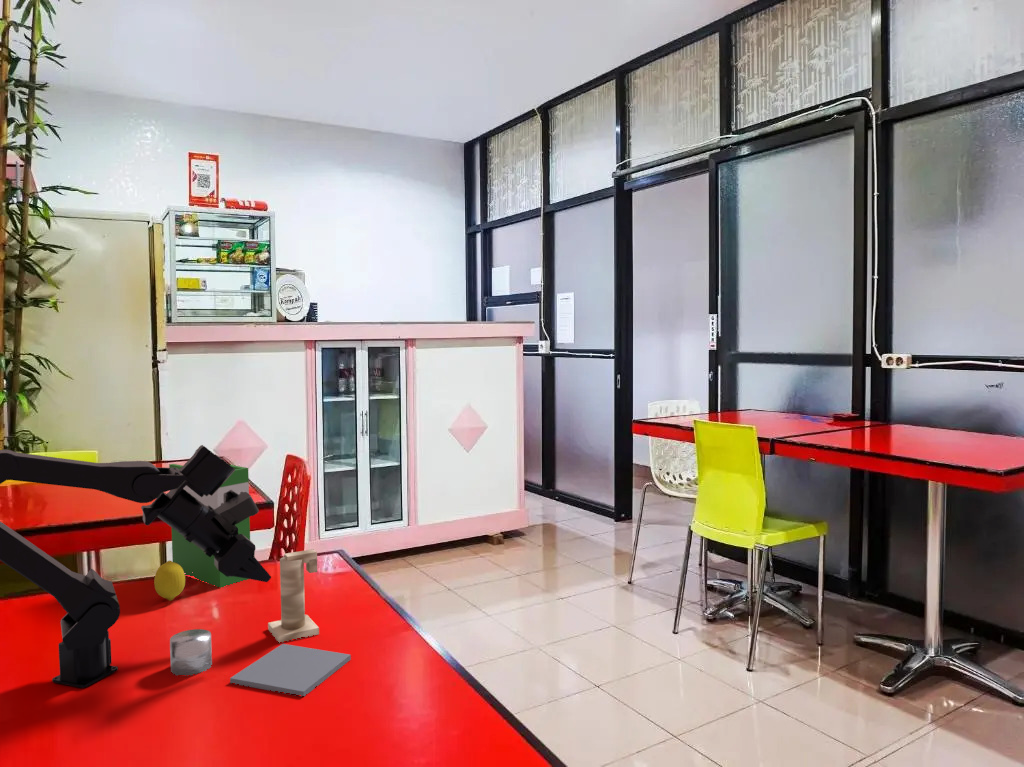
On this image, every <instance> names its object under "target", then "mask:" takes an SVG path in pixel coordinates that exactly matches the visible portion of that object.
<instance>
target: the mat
mask: <svg viewBox="0 0 1024 767" xmlns="http://www.w3.org/2000/svg"><path fill="white" fill-rule="evenodd" d="M351 656H352V655H351V654H349V653H343V652H336V651H330V650H323V649H318V648H311V647H305V646H299V645H293V644H289V643H281V644H280V645H279V646H277V647H275V648H274V649H273V650H271V651H269V652H268V653H266V654H265V655H263V656H262V657H260V658H259V659H257V660H255V661H254V662H252V663H251V664H250V665H248V666H246V667H245V668H243V669H242V670H240V671H239V672H237V673H235V674H234V675H233V676H231V677H229V681H230V682H229V683H230V684H232V683H235V684H234V685H237V684H239V685H238V686H243V685H244V687H248V686H249V687H250V688H253V689H254V688H255V689H260V690H264V691H270V690H271V692H275V691H278V692H277V693H280V692H284V693H283V694H286V693H290V694H289V695H291V694H296V695H301V696H300V697H302V696H304V697H305V696H307V695H308V694H309V693H310V692H312V691H313V690H314V689H315V687H316V686H317V687H319V685H321V684H322V683H323V682H325V681H326V680H327V679H329V677H330V676H332V675H333V674H335V673H336V672H337V671H338V670H339V669H341V668H342V667H344V665H346V664H347V663H348V662H349V661H351V660H352V657H351ZM317 687H316V688H317ZM306 694H307V695H306ZM296 695H295V696H296Z"/></svg>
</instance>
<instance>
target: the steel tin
mask: <svg viewBox="0 0 1024 767" xmlns="http://www.w3.org/2000/svg"><path fill="white" fill-rule="evenodd" d="M212 650H213V649H212V633H211V631H210V630H207V629H202V628H199V629H198V628H197V629H196V628H194V629H187V630H183V631H181V632H178V633H175V634H173V635H172V636H171V637H170V639H169V652H170V653H169V654H170V656H169V657H170V673H171V672H172V673H173V674H172V673H171V674H172V675H174V674H175V676H178V675H185V676H184V677H189V676H188V675H190V676H194V675H193V674H195V675H199V674H202V673H204V672H206V671H208V670H209V669H210V668H211V667H212V666H211V665H213V658H212V657H213V655H212V654H213V652H212ZM207 669H208V670H207ZM203 671H204V672H203ZM201 672H202V673H201ZM198 673H199V674H198ZM186 675H187V676H186Z"/></svg>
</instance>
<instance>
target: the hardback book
mask: <svg viewBox="0 0 1024 767" xmlns="http://www.w3.org/2000/svg"><path fill="white" fill-rule="evenodd" d="M229 465H230V466H232V467H233V468H234V469H235V471H234V472H233V473H232V474H231V475H230V477H229V478H228V479H227V480H226V481H225V482H224V483H223V484H222V485H221V486H220V487H219V489H218V490H217V491H216V492H215V493H214V494H213V495H212V496H211V495H210V494H209V495H208V496H205V495H204V496H203V497H201V496H199V495H198V494H197V493H195V492H194V491H193V490H191V489H190V488H189V487H188V486H185V487H184V488H183V489H185V490H186V491H187V492H188V493H190V494H191V495H192V496H194V497H195V498H196V499H197V500H199V501H200V502H201V503H203V504H204V505H206V506H208V505H209V506H211V507H212V508H213V509H216V508H218V507H219V506H221V503H224V493H226V492H228V491H229V490H233V491H234V492H236V493H237V494H240V492H247V493H248V494H249V495H250V486H249V467H245V466H239V465H234V464H229ZM182 466H183V465H181V464H177V463H170V464H169V466H168V468H171V467H172V468H178V469H179V470H180V468H181V467H182ZM250 517H251V516H250ZM250 517H248V518H246V519H245V520H243V521H241V522H240V523H238V524H236V525H235V526H236V527H237V528H238V534H243V535H244V536H245V537H247V538H248V539H249V540H250V541H251V522H250V520H251V518H250ZM170 528H171V549H172V552H171V553H172V554H171V556H172V562H175V563H177V564H179V565H180V566H181V567H182V568H183V571H184V573H186V574H185V575H190V576H194V577H195V578H197V579H199V580H201V581H204V582H207V583H209V584H212V585H215V586H217V587H216V588H218V587H220V588H219V589H222V588H221V587H223V588H225V587H224V586H226V585H229V586H231V585H230V584H232V585H234V584H233V583H235V584H237V583H236V582H239V583H241V582H240V581H242V582H244V581H243V580H245V581H247V580H249V579H246V578H240V577H234V576H232V577H230V576H228V577H227V576H225V575H224V574H223V573H221V572H220V571H219V570H218V569H217V568H216V566H215V565H214V556H213V555H212V556H211V557H209V556H208V555H206V554H205V553H204V551H203V550H202V549H200V548H199V547H198V546H196V545H195V544H193V543H192V542H191V543H190V542H189V541H187V540H186V539H185V538H184V536H183V535H181V534H180V533H179V532H177V531H176V530H175V529H173V528H172V527H171V526H170ZM192 572H193V573H192ZM209 584H208V585H209ZM212 585H211V586H212ZM215 586H214V587H215ZM226 587H227V586H226Z"/></svg>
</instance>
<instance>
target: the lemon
mask: <svg viewBox="0 0 1024 767" xmlns="http://www.w3.org/2000/svg"><path fill="white" fill-rule="evenodd" d="M153 581H154V584H153V585H154V589H155V592H156V593H157V594H158V596H160V597H162V598H163V599H166V600H168V601H170V602H171V601H173V600H174V599H175V598H176V597H177V596H179V595H180V594H181V593H182V592H183V590H184V588H185V585H186V576H185V574H184V571H183V568H182V567H181V566H180V565H179V564H177V563H175V562H173V560H168V561H166V562H165V563H163V564H161V565H160V566H159V567H158V568H157V570H156V571H155V575H154V580H153Z"/></svg>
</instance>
